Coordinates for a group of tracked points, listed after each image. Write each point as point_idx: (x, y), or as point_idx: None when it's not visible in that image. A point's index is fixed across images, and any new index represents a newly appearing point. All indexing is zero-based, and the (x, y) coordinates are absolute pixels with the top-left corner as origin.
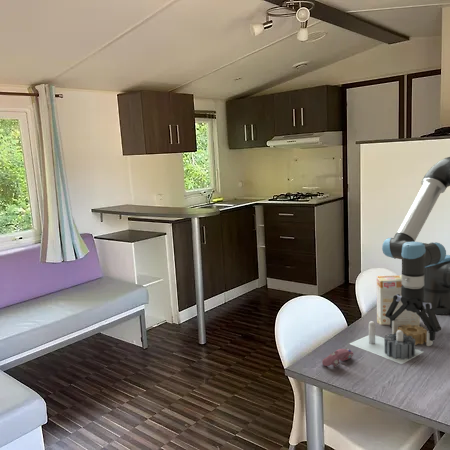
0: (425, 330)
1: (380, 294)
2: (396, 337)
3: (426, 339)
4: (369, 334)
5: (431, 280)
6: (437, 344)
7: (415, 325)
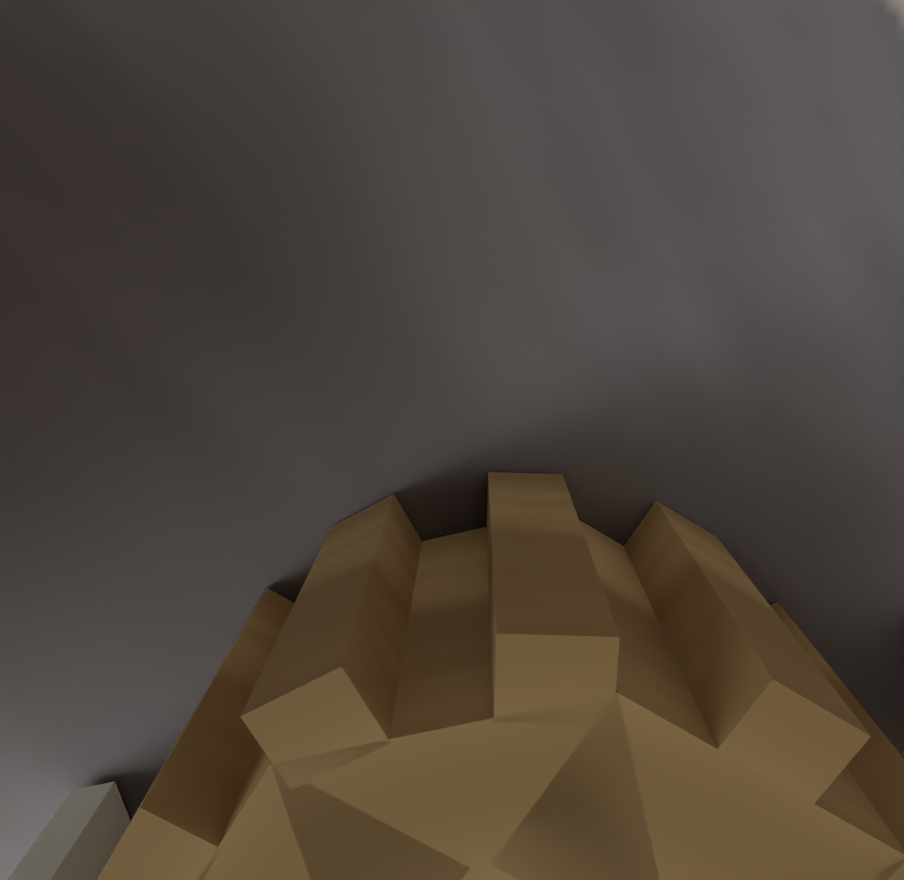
0: (837, 765)
1: None
2: None
3: (846, 690)
4: None
5: None
6: (896, 353)
7: (299, 729)
